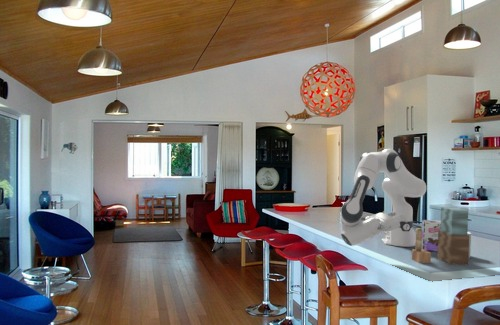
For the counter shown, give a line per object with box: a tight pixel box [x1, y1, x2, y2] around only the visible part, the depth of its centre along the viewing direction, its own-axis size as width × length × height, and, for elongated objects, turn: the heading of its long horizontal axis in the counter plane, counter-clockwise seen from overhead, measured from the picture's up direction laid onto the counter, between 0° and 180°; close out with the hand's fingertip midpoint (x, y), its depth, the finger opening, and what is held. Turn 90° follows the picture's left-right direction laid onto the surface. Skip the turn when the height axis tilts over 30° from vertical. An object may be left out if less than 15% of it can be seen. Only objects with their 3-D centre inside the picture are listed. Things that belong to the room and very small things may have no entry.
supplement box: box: [467, 231, 472, 259], centre depth 251 cm, size 7×7×13 cm
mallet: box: [411, 227, 432, 264], centre depth 236 cm, size 8×16×6 cm
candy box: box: [421, 219, 441, 252], centre depth 264 cm, size 14×6×16 cm, turn 82°
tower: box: [436, 207, 470, 265], centre depth 238 cm, size 13×9×26 cm
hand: (399, 214), depth 235 cm, fingers open, 8 cm apart
